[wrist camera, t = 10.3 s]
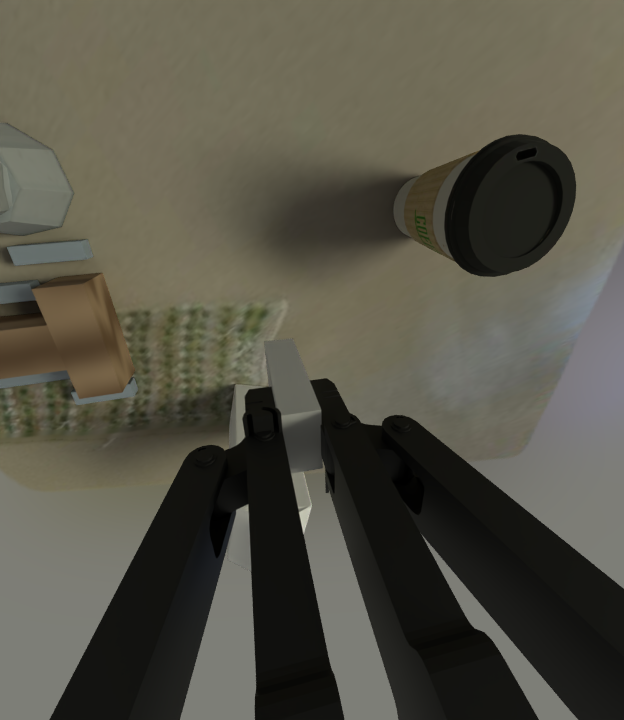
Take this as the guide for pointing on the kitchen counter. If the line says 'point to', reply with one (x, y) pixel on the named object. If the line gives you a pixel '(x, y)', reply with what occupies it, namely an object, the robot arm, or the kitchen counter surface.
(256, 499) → the robot arm
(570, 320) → the kitchen counter surface
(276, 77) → the kitchen counter surface
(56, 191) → the coffee maker
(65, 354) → the t block
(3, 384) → the t bay
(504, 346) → the kitchen counter surface
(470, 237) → the coffee cup
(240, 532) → the milk
